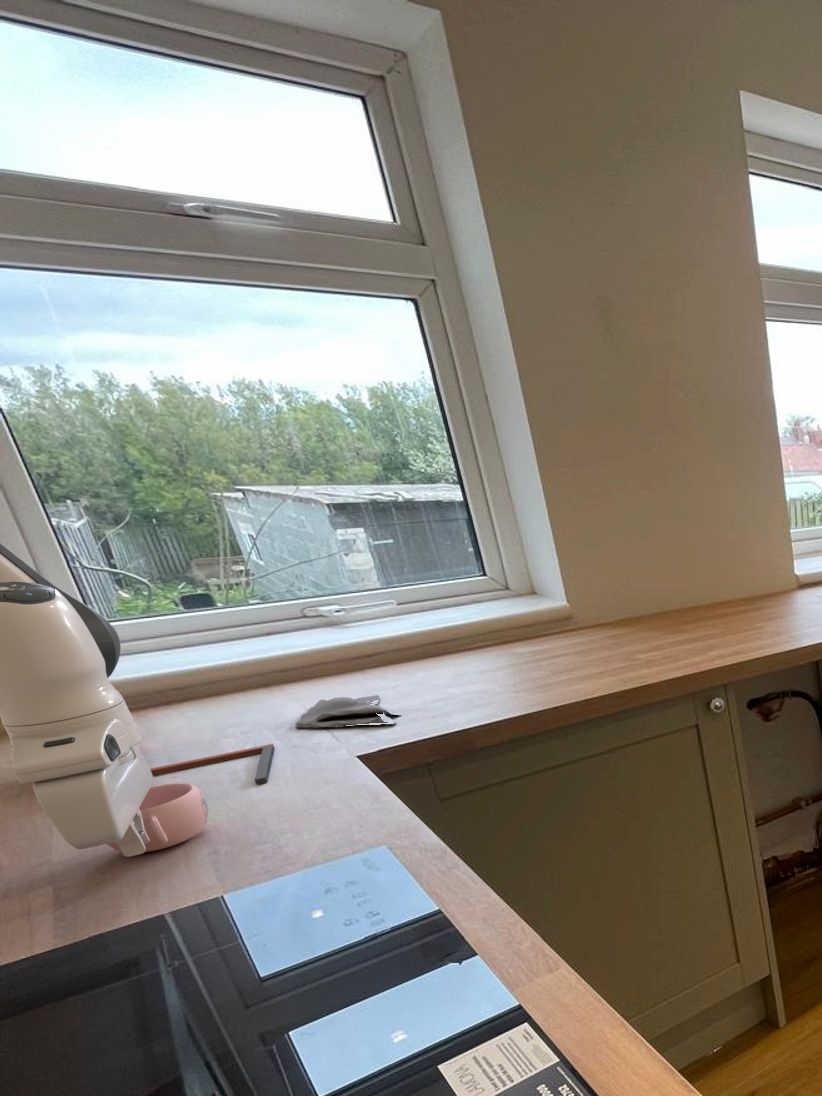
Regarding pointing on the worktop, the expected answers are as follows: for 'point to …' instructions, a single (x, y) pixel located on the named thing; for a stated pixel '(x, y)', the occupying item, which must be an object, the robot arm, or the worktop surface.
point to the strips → (262, 767)
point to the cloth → (342, 712)
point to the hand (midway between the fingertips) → (138, 850)
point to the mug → (172, 815)
